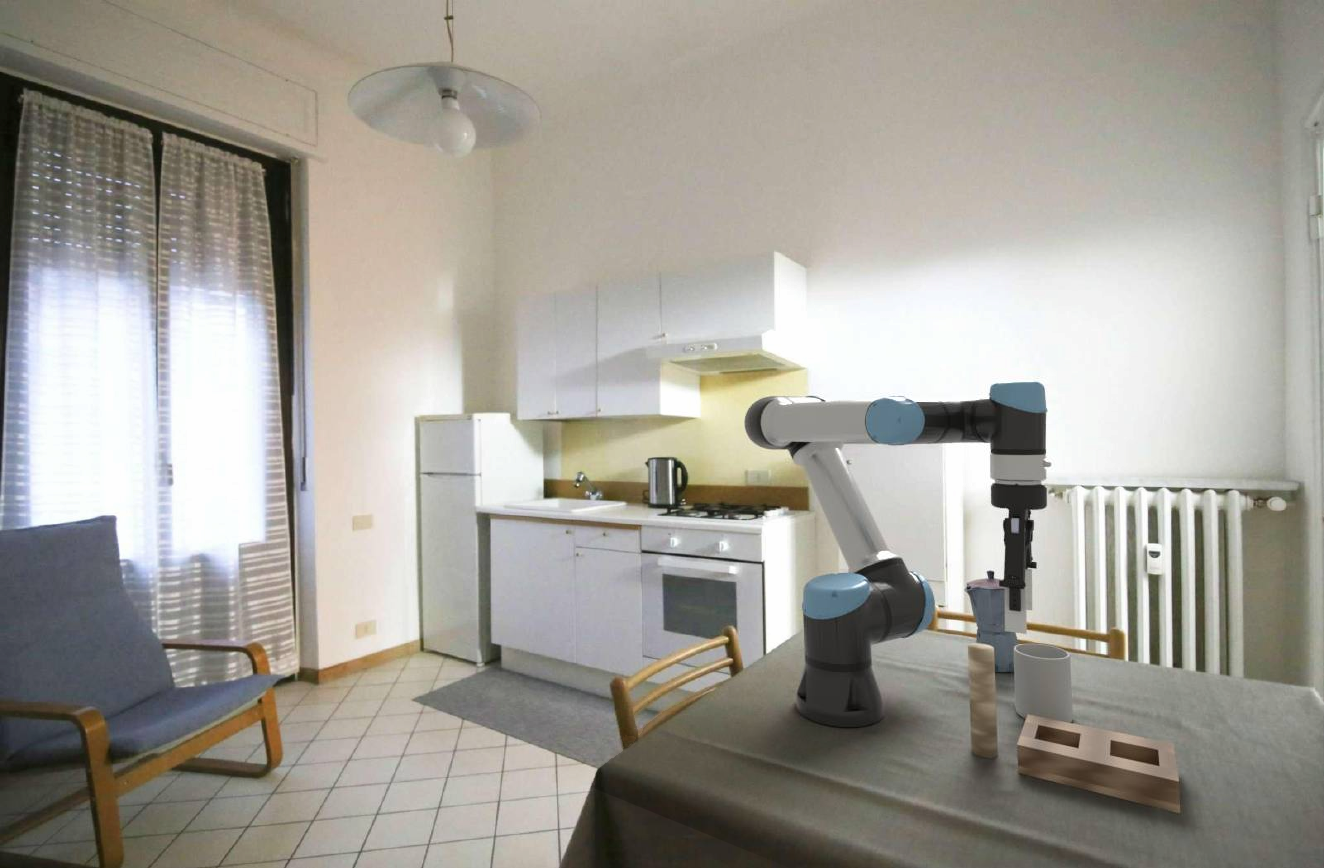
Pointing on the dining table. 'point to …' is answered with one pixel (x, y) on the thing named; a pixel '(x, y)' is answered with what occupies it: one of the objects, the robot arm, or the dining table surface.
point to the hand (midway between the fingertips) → (1019, 619)
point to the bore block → (1100, 761)
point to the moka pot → (992, 620)
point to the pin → (982, 700)
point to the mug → (1043, 682)
